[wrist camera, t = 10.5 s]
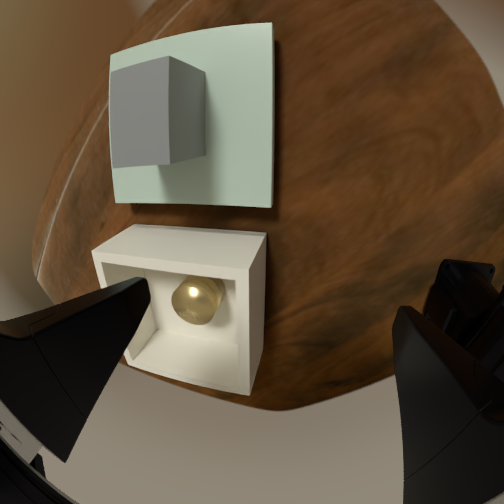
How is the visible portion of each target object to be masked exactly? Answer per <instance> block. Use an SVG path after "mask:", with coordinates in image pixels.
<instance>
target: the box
mask: <svg viewBox="0 0 504 504" xmlns="http://www.w3.org/2000/svg"><path fill="white" fill-rule="evenodd" d="M266 234H267V233H263V232H250V231H236V230H222V229H207V228H192V227H176V226H159V225H140V224H134V225H132V226H131V227H129V228H127V229H126V230H124V231H122V232H121V233H119V234H117V235H116V236H114V237H113V238H111V239H109V240H108V241H106V242H105V243H103V244H101V245H100V246H98V247H97V248H95V249H94V250H92V255H93V259H94V263H95V267H96V271H97V275H98V279H99V282H100V286H101V289H102V288H105V287H108V286H111V285H113V284H116V283H119V282H122V281H125V280H128V279H131V278H134V277H143V278H146V279H147V281H148V285H149V290H150V294H151V302H150V304H149V306H148V308H147V310H146V312H145V315H144V317H143V319H142V321H141V323H140V325H139V327H138V329H137V331H136V333H135V335H134V337H133V338H132V340H131V342H130V343H129V345H128V347H127V348H126V350H125V352H124V355H125V358H126V360H127V363H128V365H131V366H134V367H137V368H140V369H143V370H146V371H149V372H152V373H155V374H159V375H162V376H165V377H169V378H172V379H176V380H180V381H183V382H187V383H191V384H195V385H199V386H203V387H208V388H212V389H217V390H221V391H226V392H231V393H236V394H242V395H247V396H250V393H251V390H252V387H253V383H254V380H255V376H256V373H257V369H258V366H259V362H260V358H261V355H262V351H263V340H264V311H265V276H266ZM188 274H189V275H197V276H205V277H213V278H221V279H222V280H223V282H224V284H225V289H226V292H225V296H224V298H223V300H222V302H221V304H220V305H219V307H218V309H217V311H216V313H215V314H214V316H213V318H212V320H211V321H210V322H208V323H207V324H204V325H194V324H191V323H188V322H186V321H184V320H183V319H182V318H180V317H179V316H178V315H177V313H176V312H175V311H174V309H173V306H172V303H171V297H172V294H173V292H174V291H175V290H176V289H177V288H178V286H179V285H180V284H181V283H182V282H183V280H184V279H185V278H186V277H187V276H188Z"/></svg>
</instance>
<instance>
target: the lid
mask: <svg viewBox="0 0 504 504" xmlns="http://www.w3.org/2000/svg"><path fill="white" fill-rule="evenodd" d="M274 116H275V61H274V26H273V24H272V23H256V24H243V25H233V26H225V27H217V28H211V29H205V30H199V31H194V32H189V33H184V34H179V35H175V36H171V37H166V38H163V39H159V40H155V41H152V42H148V43H145V44H141V45H138V46H135V47H132V48H129V49H126V50H123V51H120V52H118V53H115V54H112V55H111V59H110V77H109V133H110V152H111V165H112V176H113V186H114V195H115V202H116V203H173V204H206V205H229V206H248V207H265V208H271V207H272V205H273V187H274Z"/></svg>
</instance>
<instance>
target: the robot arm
mask: <svg viewBox="0 0 504 504" xmlns="http://www.w3.org/2000/svg"><path fill="white" fill-rule="evenodd" d="M446 264H448V266H447V267H445V265H446ZM490 269H491V271H490ZM494 273H495V267H494V266H493V265H492V264H487V263H478V262H469V261H460V260H451V259H445V260H443V261H442V263H441V266H440V269H439V272H438V276H437V279H436V282H435V283H434V285H433V288H432V291H431V294H430V297H429V300H428V303H427V305H426V311H425V314H424V316H423V315H422V314H421V313H419V312H418V311H417V310H415V309H414V308H413V307H411V306H400V307H399V309H398V311H397V314H396V317H395V320H394V323H393V326H392V338H393V352H394V369H395V376H396V383H397V390H398V398H399V405H400V415H401V426H402V440H403V460H404V480H405V481H404V491H403V504H504V285H503V287H502V288H503V289H502V291H501V292H500V294H499V293H498V291H497V290H496V289H495V288H494V287H493V285H492V284H491V281H492V278H493V275H494ZM150 302H151V294H150V290H149V285H148V281H147V279H146V278H143V277H134V278H131V279H128V280H125V281H122V282H119V283H116V284H113V285H111V286H108V287H105V288H102V289H99V290H96V291H94V292H91V293H88V294H85V295H82V296H79V297H77V298H74V299H71V300H68V301H65V302H63V303H61V304H57V305H54V306H52V307H49V308H46V309H43V310H40V311H37V312H34V313H31V314H27V315H24V316H20V317H17V318H14V319H10V320H6V321H0V504H79V503H77V502H76V501H74V500H73V499H71V498H70V497H69V496H67V495H66V494H65V493H63V492H62V491H61V490H59V489H58V488H57V487H55V486H54V485H53V484H52V483H50V482H49V481H48V480H47V479H46V477H45V471H44V466H43V460H42V457H41V455H39V454H38V451H39V450H40V449H41V447H42V446H43V447H44V448H46V449H47V450H48V451H49V452H51V453H52V454H53V455H54V456H56V457H57V458H59V459H60V460H61V461H62V462H64V463H65V462H66V461H67V459H68V457H69V455H70V453H71V451H72V449H73V447H74V445H75V443H76V441H77V439H78V436H79V434H80V433H81V430H82V429H83V427H84V425H85V423H86V421H87V418H88V416H89V414H90V412H91V411H92V409H93V407H94V405H95V403H96V401H97V400H98V398H99V396H100V394H101V392H102V390H103V389H104V386H105V385H106V383H107V381H108V380H109V378H110V376H111V374H112V373H113V371H114V369H115V367H116V366H117V364H118V362H119V360H120V359H121V357H122V355H123V354H124V352H125V350H126V348H127V347H128V345H129V343H130V342H131V340H132V338H133V337H134V335H135V333H136V331H137V329H138V327H139V325H140V323H141V321H142V319H143V317H144V315H145V312H146V310H147V308H148V306H149V304H150Z"/></svg>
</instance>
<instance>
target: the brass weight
mask: <svg viewBox="0 0 504 504" xmlns="http://www.w3.org/2000/svg"><path fill="white" fill-rule="evenodd" d="M225 292H226V289H225V284H224V282H223V280H222V279H221V278H213V277H205V276H197V275H189V274H188V276H187V277H186V278H185V279H184V280H183V282H182V283H181V284H180V285H179V286H178V288H177V289H176V290H175V291H174V292H173V294H172V297H171V303H172V306H173V309H174V311H175V312H176V313H177V315H178V316H179V317H180V318H182V319H183V320H184V321H186V322H188V323H191V324H194V325H204V324H207V323H208V322H210V321H211V320H212V318H213V316H214V314H215V313H216V311H217V309H218V307H219V305H220V304H221V302H222V300H223V298H224V296H225Z"/></svg>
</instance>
